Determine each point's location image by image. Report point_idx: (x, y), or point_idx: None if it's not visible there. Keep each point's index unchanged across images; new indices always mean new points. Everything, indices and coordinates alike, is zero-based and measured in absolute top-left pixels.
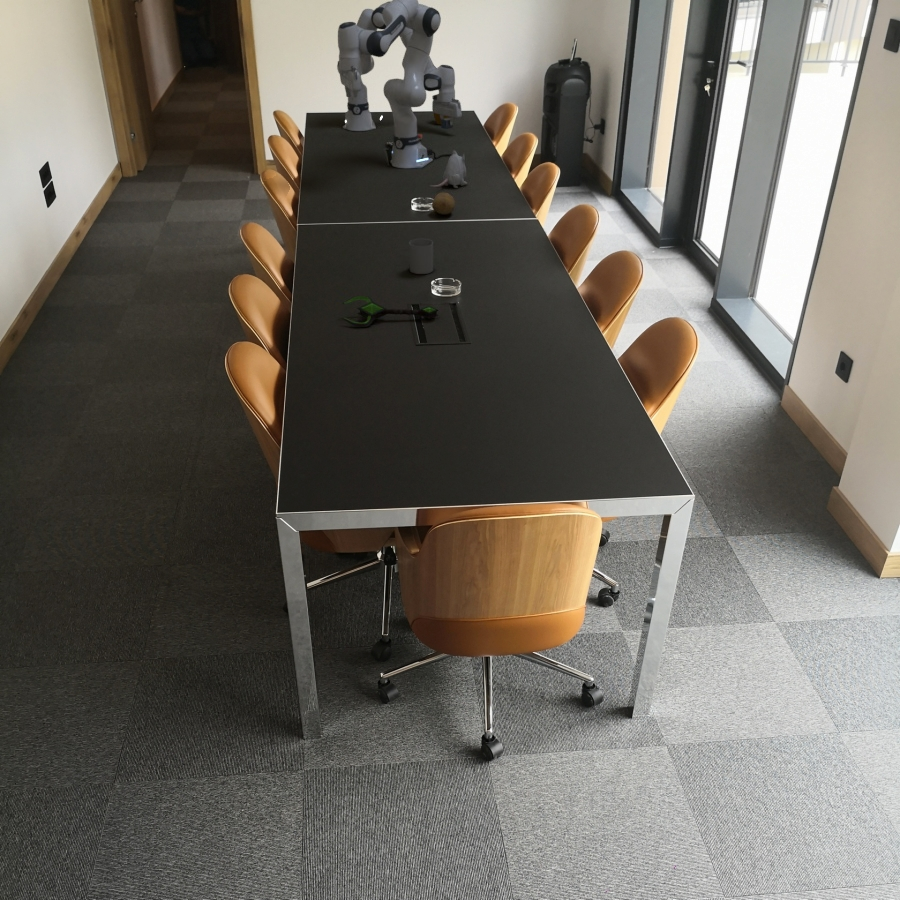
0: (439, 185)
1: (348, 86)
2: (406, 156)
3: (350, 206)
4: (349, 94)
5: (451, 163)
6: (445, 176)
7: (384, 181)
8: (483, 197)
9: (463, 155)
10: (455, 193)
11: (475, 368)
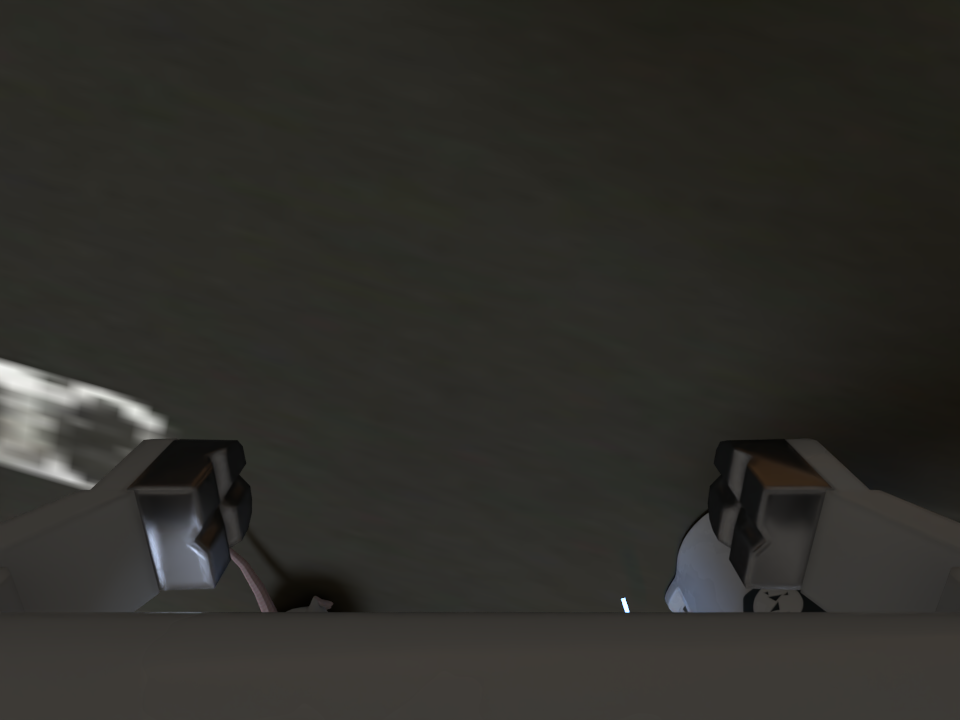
0: (243, 570)
1: (83, 689)
2: (715, 582)
3: (52, 39)
4: (737, 528)
5: None
6: None
7: (505, 374)
8: None
9: None
10: (202, 596)
11: None
